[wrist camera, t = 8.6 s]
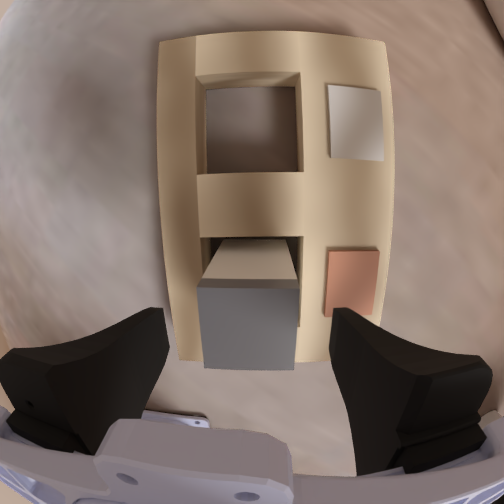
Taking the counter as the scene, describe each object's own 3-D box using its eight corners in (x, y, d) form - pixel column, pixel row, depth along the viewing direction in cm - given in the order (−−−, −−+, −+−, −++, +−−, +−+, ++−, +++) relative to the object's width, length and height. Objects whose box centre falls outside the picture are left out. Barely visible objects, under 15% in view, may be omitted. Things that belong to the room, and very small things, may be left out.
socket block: (189, 336, 21) (178, 362, 18) (174, 58, 16) (157, 40, 12) (361, 334, 20) (373, 359, 17) (368, 57, 15) (386, 40, 12)
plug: (225, 296, 20) (204, 367, 12) (223, 239, 19) (196, 287, 11) (283, 296, 20) (293, 370, 12) (285, 239, 19) (299, 288, 11)
